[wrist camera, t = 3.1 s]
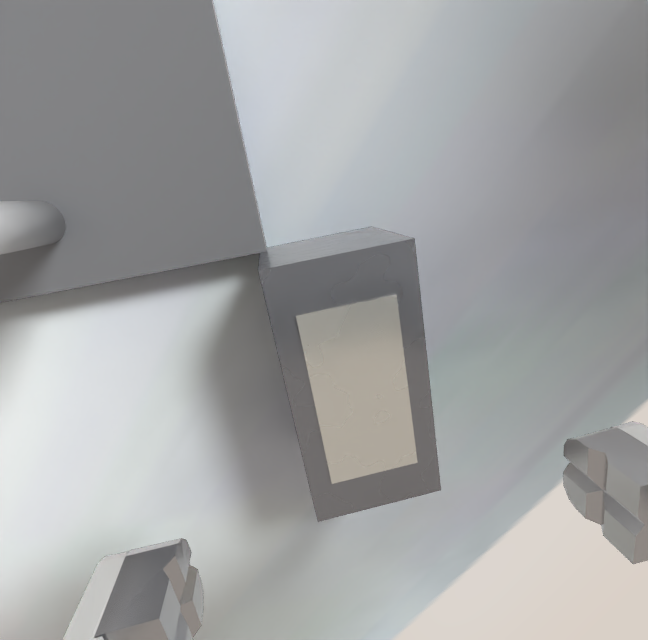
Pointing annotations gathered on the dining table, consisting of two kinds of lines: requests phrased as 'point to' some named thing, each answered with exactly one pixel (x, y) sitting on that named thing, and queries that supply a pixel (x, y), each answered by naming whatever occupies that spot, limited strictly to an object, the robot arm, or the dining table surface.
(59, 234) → the grey peg base
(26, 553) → the dining table surface
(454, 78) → the dining table surface
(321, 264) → the block
